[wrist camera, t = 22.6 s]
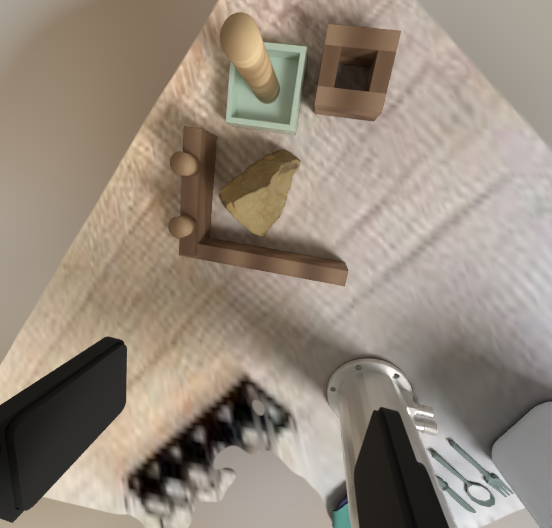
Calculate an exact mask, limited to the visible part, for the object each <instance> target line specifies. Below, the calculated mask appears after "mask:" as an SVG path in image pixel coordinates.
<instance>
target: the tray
mask: <svg viewBox="0 0 552 528" xmlns="http://www.w3.org/2000/svg"><path fill="white" fill-rule="evenodd" d="M264 45H265V48H266V50H267V53H268V56H269V58H270V61H271V64H272V66H273V69H274V72H275V74H276V77H277V79H278V82H279V85H280V92H279V95H278V97H277V99H276V100H275V101H274V102H272V103H270V104H264V103H262V102H260V101H259V100H258V99H257V97H256V96H255V94H254V93H253V91H252V90H251V89H250V87H249V86H248V84H247V83H246V82H245V80H244V79H243V77H242V76H241V74H240V73H239V72H238V70H237V69H236V67H235V66H234V64H233V63H232V62H231V60H230V72H229V85H228V98H227V110H226V123H228V124H229V125H230V126H232V127H239V128H246V129H254V130H261V131H268V132H276V133H283V134H290V135H296V130H297V123H298V117H299V110H300V104H301V97H302V91H303V84H304V78H305V71H306V64H307V58H308V56H307V46H297V45H287V44H277V43H268V42H264Z"/></svg>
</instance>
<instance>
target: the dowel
mask: <svg viewBox="0 0 552 528" xmlns="http://www.w3.org/2000/svg"><path fill="white" fill-rule="evenodd" d="M220 39H221V45H222V48H223V50H224V52H225V53H226V55H227V56H228V57H229V59H230V60H231V62H232V63H233V64H234V66H235V67H236V69H237V70H238V72H239V73H240V74H241V76H242V77H243V79H244V80H245V82H246V83H247V84H248V86H249V87H250V89H251V90H252V91H253V93H254V94H255V96H256V97H257V99H258V100H259V101H260V102H262V103H264V104H270V103H272V102H274V101H275V100H276V99H277V97H278V95H279V92H280V85H279V82H278V79H277V77H276V74H275V72H274V69H273V66H272V64H271V61H270V58H269V56H268V53H267V50H266V48H265V45H264V42H263V40H262V37H261V35H260V32H259V29H258V27H257V24H256V22H255V21H254V19H253V18H252V17H251V16H249V15H248V14H246V13H235V14H232V15H231V16H229V17H228V18H227V19H226V21H225V22H224V24H223V26H222V29H221V35H220Z"/></svg>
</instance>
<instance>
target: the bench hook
mask: <svg viewBox="0 0 552 528" xmlns="http://www.w3.org/2000/svg"><path fill="white" fill-rule="evenodd" d="M216 140H217V136H215V135H213V134H211V133H209V132H207V131H204V130H202V129H200V128H192V127H185V126H184V134H183V152H176V153H174V154H173V155H172V156H171V159H170V166H171V169H172V170H173V171H174V172H175V173H176V174H178V175H182V189H181V216H179V217H175V218H172V219H171V220H170V222H169V231H170V233H171V234H172V235H173V236H175V237H177V238H180V244H179V255H181V256H187V257H192V258H197V259H202V260H208V261H213V262H218V263H224V264H229V265H234V266H240V267H245V268H250V269H256V270H261V271H266V272H272V273H277V274H282V275H288V276H293V277H298V278H304V279H309V280H314V281H320V282H325V283H330V284H336V285H341V286H345V283H346V279H347V275H348V269H347V266H346V264H345V262H340V261H334V260H329V259H323V258H318V257H312V256H307V255H301V254H295V253H290V252H284V251H279V250H273V249H268V248H262V247H256V246H251V245H245V244H240V243H234V242H228V241H223V240H217V239H212V238H210V225H211V211H212V197H213V183H214V169H215V155H216Z"/></svg>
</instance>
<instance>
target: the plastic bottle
mask: <svg viewBox="0 0 552 528" xmlns="http://www.w3.org/2000/svg"><path fill="white" fill-rule="evenodd" d="M492 460H493V462H494V464H495V466H496V468H497V469H498V470H499V472H500V473H501V475H502V476H503V477H504V479H505V480H506V482H507V483H508V484H509V486H510V487H511V488H512V490H513V491H514V493H515V494H516V495H517V497H518V498H519V499H520V501H521V502H522V504H523V505H524V506H525V508H526V509H527V510H528V512H529V513H530V515H531V516H532V517H533V519H534V520H535V522H536V523H537V524H538V526H539V527H540V528H552V401H549V402H545V403H542V404H539V405H537V406H536V407H534V408H533V409H531V410H530V411H529V412H528V413H527V414H526V415H525V416H524V417H522V418H521V419H520V420H519V421H518V422H517V423H516V424H515V425H513V426H512V427H511V428H510V429H509V430H508V431H507V432H506V433H505V434H503V435H502V436H501V437H500V438H499V439H498V440H497V441H496V442H495V443H494V445H493V448H492Z"/></svg>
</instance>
